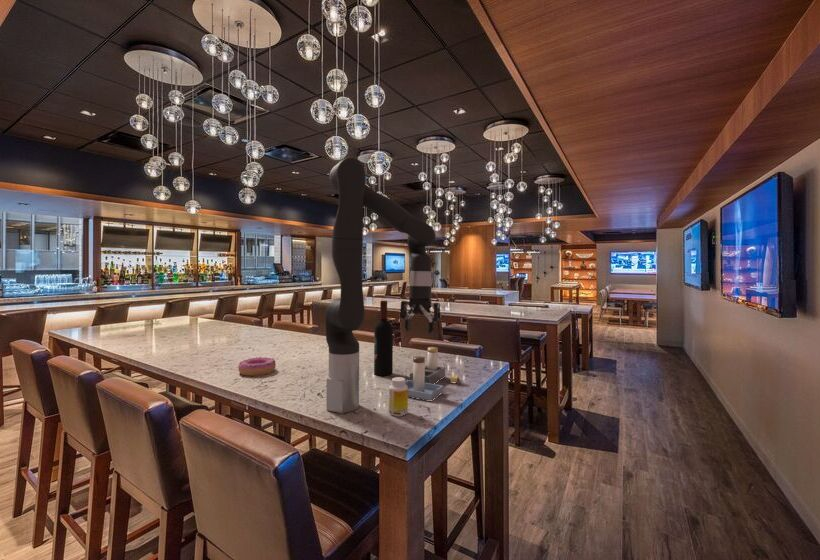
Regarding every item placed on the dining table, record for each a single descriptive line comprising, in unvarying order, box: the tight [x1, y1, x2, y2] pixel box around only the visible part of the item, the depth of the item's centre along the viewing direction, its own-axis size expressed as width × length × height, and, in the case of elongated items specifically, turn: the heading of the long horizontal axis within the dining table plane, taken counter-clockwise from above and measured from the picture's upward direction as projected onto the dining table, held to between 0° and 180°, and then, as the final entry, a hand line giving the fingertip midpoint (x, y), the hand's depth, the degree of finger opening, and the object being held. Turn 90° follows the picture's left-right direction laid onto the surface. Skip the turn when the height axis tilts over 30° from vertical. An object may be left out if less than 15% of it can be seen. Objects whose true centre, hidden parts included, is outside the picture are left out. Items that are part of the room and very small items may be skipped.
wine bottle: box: [373, 300, 394, 378], centre depth 148 cm, size 8×8×30 cm
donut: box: [237, 356, 277, 377], centre depth 150 cm, size 14×14×5 cm
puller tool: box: [450, 374, 458, 383], centre depth 140 cm, size 8×2×1 cm, turn 172°
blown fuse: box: [412, 355, 426, 392], centre depth 124 cm, size 4×4×12 cm
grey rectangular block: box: [409, 364, 446, 384], centre depth 139 cm, size 15×8×4 cm, turn 152°
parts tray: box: [405, 379, 444, 401], centre depth 124 cm, size 14×10×2 cm
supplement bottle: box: [388, 376, 409, 417], centre depth 107 cm, size 6×6×10 cm
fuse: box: [426, 346, 439, 371], centre depth 143 cm, size 4×4×12 cm
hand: (419, 332), depth 124 cm, fingers open, 8 cm apart
